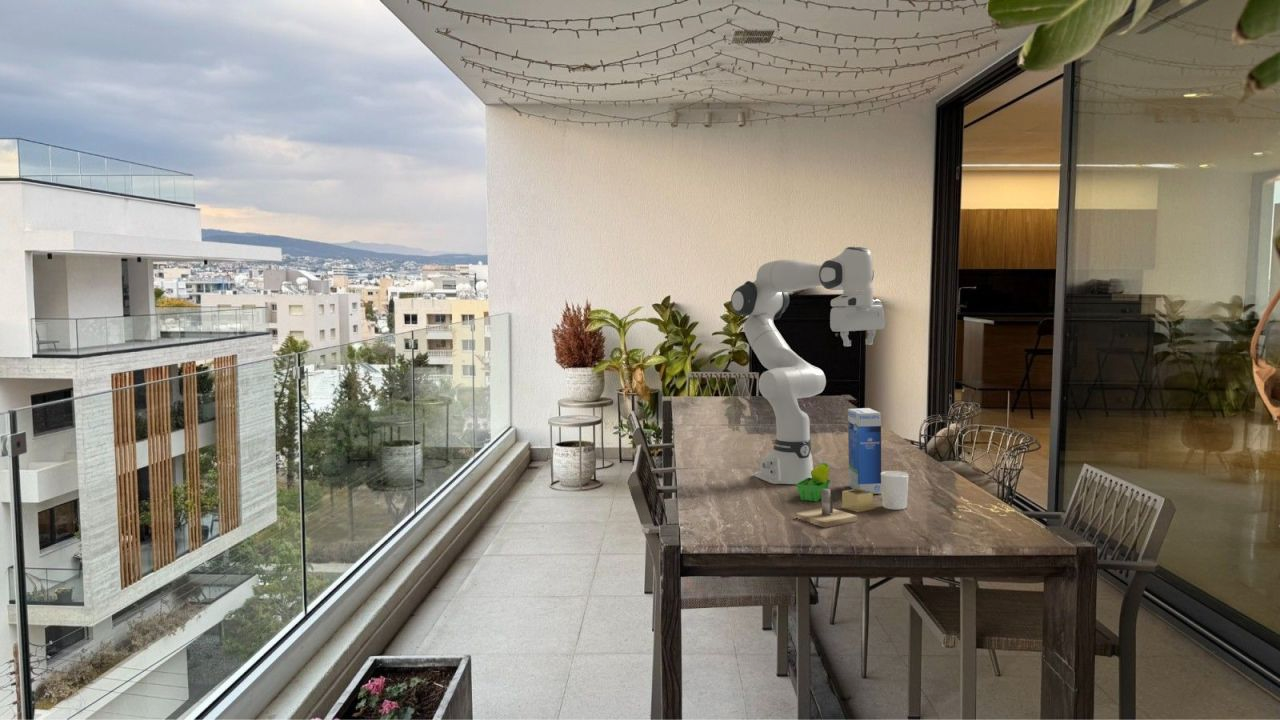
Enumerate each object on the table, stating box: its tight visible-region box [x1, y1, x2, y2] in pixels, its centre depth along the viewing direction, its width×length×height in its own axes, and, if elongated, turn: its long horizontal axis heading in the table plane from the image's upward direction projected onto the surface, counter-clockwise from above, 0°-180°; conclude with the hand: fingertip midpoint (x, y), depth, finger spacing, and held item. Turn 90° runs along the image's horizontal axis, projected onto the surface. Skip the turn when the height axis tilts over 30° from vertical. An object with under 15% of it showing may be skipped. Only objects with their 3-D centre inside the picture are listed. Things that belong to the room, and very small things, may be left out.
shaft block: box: [795, 488, 858, 528], centre depth 234 cm, size 12×12×8 cm
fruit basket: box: [795, 462, 831, 502], centre depth 260 cm, size 11×9×11 cm
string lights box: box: [847, 407, 882, 495], centre depth 268 cm, size 13×8×26 cm, turn 0°
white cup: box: [881, 470, 909, 511], centre depth 246 cm, size 8×8×10 cm
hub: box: [841, 488, 874, 513], centre depth 246 cm, size 6×6×5 cm
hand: (858, 345), depth 255 cm, fingers open, 8 cm apart
